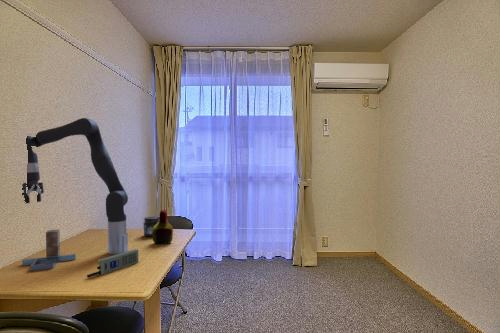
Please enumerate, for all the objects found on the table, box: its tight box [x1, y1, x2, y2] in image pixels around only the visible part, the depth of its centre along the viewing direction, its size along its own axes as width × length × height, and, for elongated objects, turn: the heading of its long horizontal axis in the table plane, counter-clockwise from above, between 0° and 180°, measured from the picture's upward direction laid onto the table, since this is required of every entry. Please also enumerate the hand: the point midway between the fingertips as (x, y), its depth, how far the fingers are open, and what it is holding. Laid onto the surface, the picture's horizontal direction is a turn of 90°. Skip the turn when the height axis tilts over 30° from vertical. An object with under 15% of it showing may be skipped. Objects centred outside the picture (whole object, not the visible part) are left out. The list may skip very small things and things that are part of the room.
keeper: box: [21, 253, 77, 272], centre depth 144 cm, size 22×12×2 cm, turn 113°
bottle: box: [152, 209, 174, 245], centre depth 182 cm, size 12×6×20 cm, turn 98°
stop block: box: [45, 228, 61, 257], centre depth 155 cm, size 5×5×14 cm
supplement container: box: [143, 215, 159, 238], centre depth 200 cm, size 10×10×12 cm
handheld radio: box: [86, 248, 140, 279], centre depth 139 cm, size 7×3×25 cm
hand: (33, 202), depth 161 cm, fingers open, 8 cm apart
